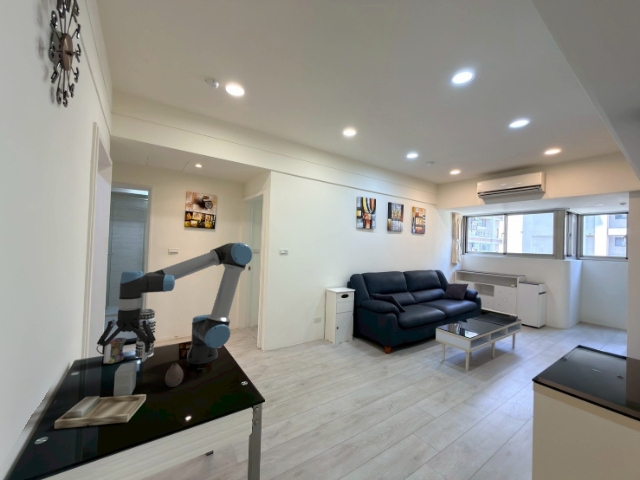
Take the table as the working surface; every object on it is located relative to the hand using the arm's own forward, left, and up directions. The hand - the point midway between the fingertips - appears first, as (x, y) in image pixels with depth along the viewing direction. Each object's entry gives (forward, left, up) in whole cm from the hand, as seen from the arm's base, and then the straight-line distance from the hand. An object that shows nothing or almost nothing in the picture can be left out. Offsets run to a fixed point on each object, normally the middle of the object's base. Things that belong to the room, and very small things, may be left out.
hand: (125, 361), depth 104 cm
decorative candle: (+10, -39, -13) cm, 42 cm away
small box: (0, 0, -13) cm, 13 cm away
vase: (-17, -4, -13) cm, 22 cm away
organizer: (0, +13, -13) cm, 18 cm away
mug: (+23, -33, -13) cm, 42 cm away
